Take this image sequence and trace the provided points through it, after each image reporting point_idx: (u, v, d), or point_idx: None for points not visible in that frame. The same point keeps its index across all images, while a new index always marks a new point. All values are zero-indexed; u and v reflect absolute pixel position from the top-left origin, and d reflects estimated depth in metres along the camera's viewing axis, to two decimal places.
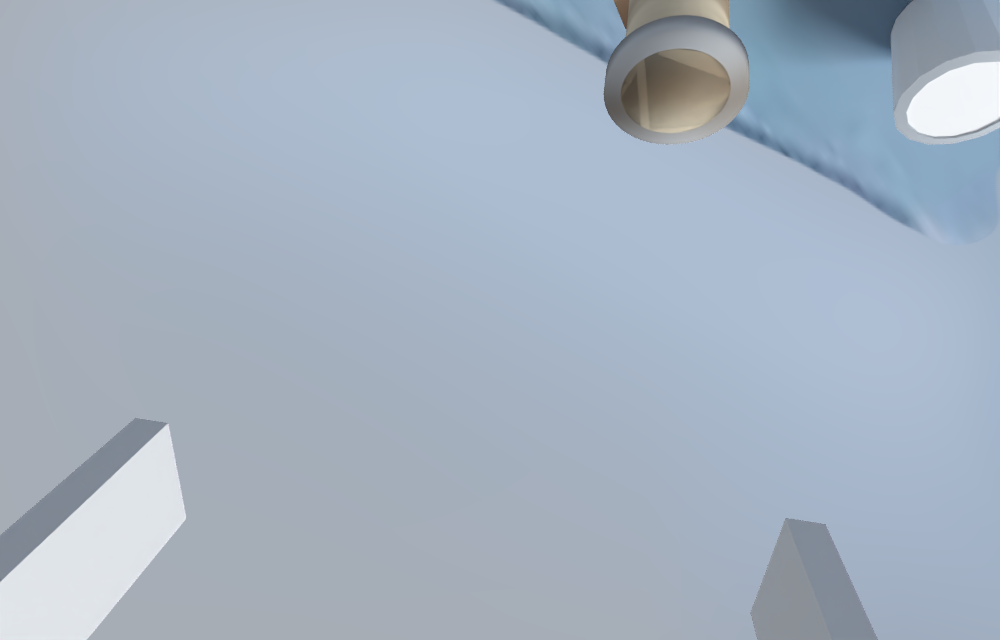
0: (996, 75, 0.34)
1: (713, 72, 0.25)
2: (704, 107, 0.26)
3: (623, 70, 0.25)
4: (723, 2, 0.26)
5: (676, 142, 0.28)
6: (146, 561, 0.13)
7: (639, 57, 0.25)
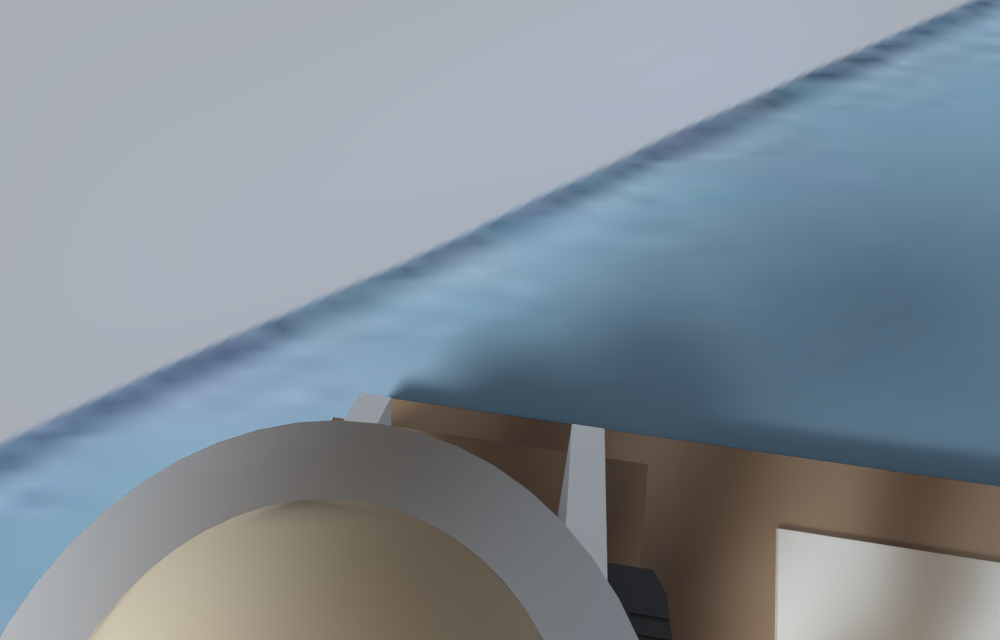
0: None
1: None
2: None
3: (565, 620, 0.05)
4: None
5: (14, 637, 0.05)
6: None
7: None
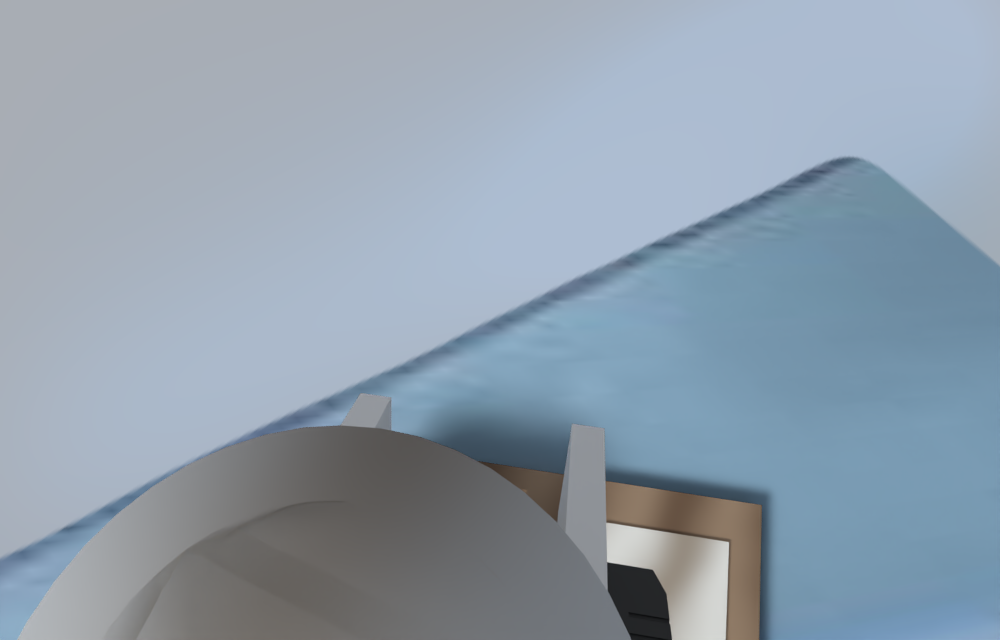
0: None
1: None
2: None
3: (559, 615, 0.05)
4: None
5: (33, 634, 0.06)
6: None
7: None
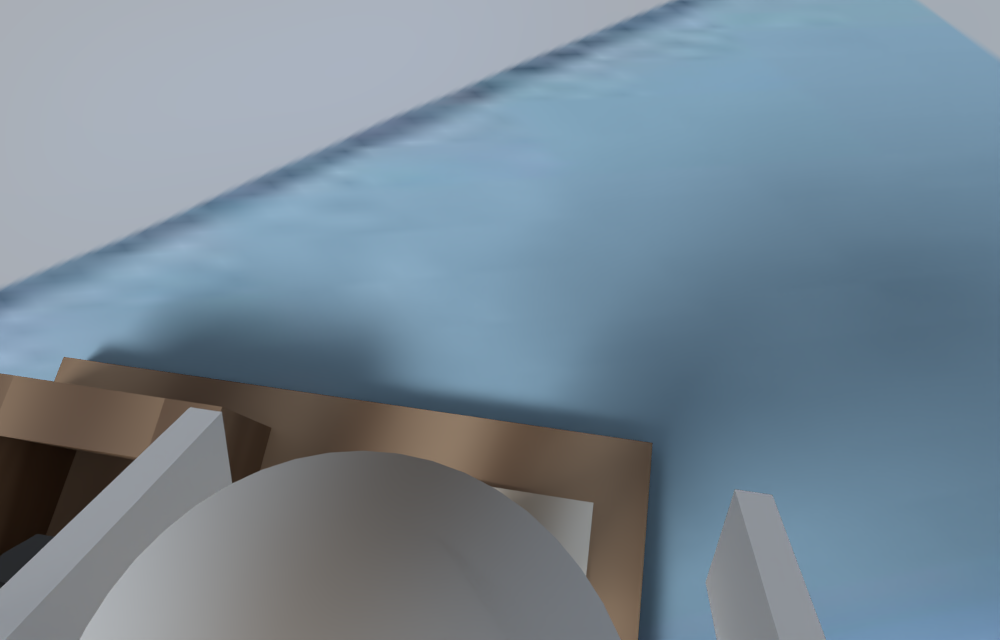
0: None
1: None
2: None
3: (558, 621, 0.06)
4: None
5: (92, 637, 0.06)
6: None
7: None
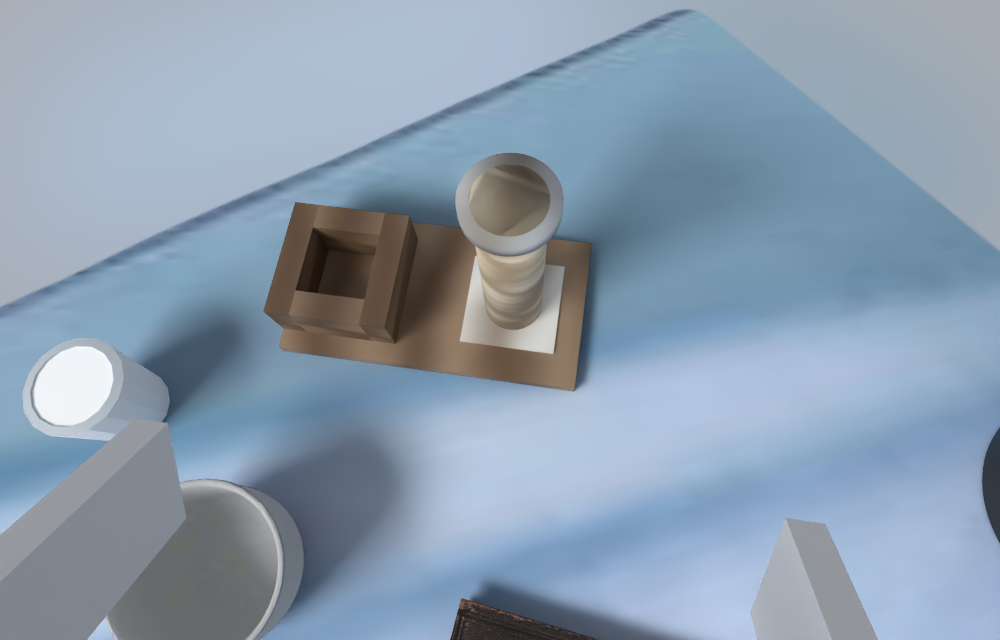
0: (84, 408, 0.41)
1: (513, 228, 0.33)
2: (485, 212, 0.33)
3: (547, 178, 0.34)
4: (515, 266, 0.36)
5: (461, 183, 0.34)
6: (146, 561, 0.13)
7: (552, 191, 0.34)
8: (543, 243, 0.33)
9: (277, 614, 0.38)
